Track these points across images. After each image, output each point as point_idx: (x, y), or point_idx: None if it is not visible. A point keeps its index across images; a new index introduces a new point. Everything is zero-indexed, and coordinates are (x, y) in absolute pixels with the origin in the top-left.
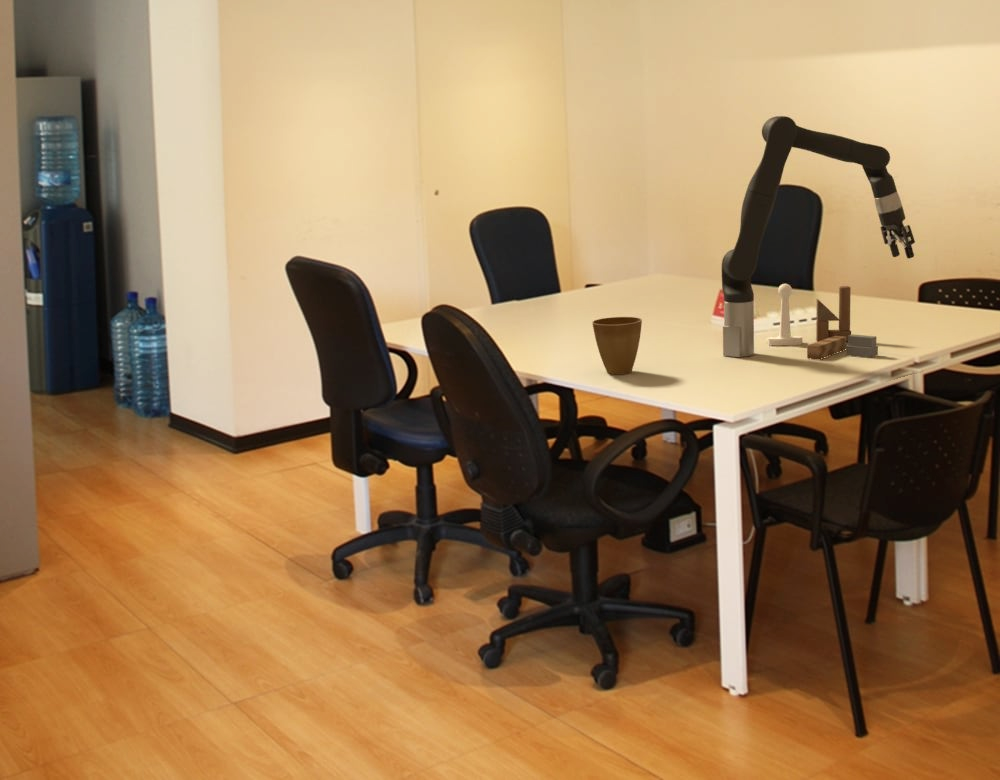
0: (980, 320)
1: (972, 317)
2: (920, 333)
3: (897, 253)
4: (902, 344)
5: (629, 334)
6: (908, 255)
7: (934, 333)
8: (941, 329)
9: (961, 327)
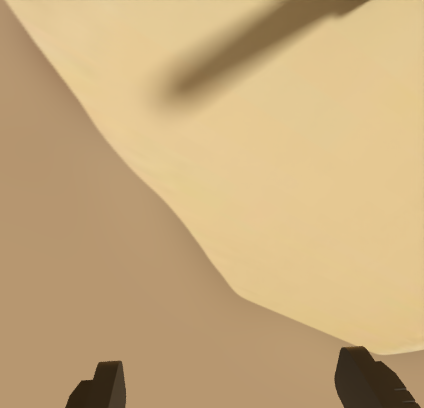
0: (338, 325)
1: (367, 327)
2: (314, 211)
3: (345, 391)
4: (218, 105)
5: None
6: (93, 391)
7: (294, 230)
8: (320, 257)
9: (310, 286)
